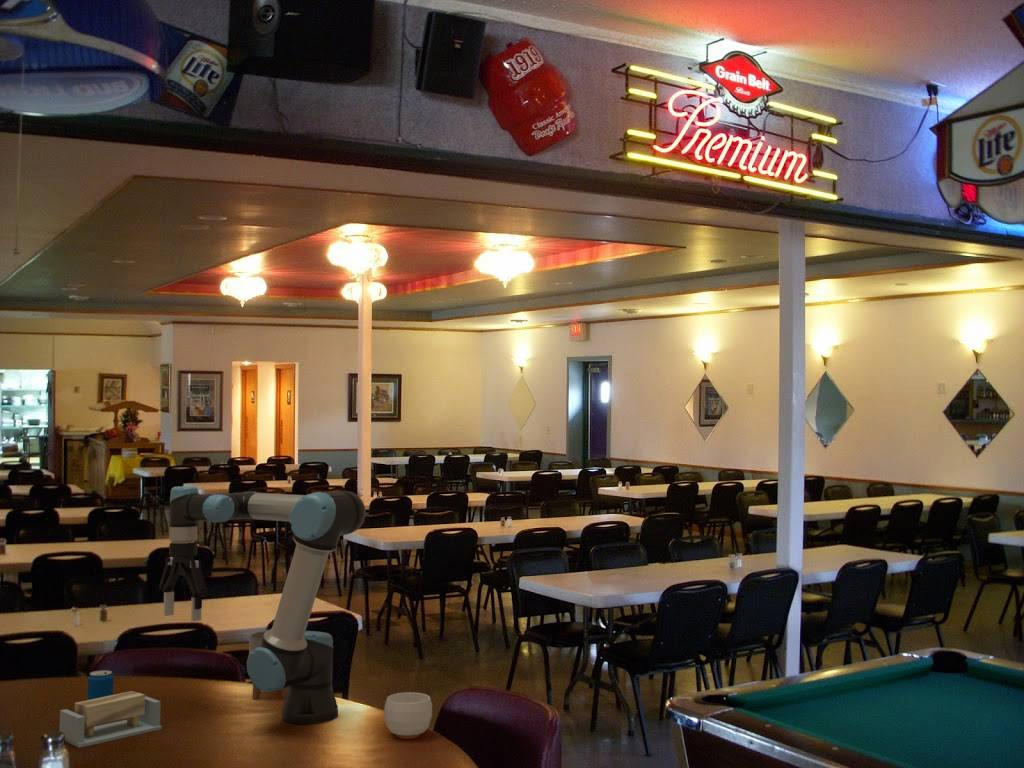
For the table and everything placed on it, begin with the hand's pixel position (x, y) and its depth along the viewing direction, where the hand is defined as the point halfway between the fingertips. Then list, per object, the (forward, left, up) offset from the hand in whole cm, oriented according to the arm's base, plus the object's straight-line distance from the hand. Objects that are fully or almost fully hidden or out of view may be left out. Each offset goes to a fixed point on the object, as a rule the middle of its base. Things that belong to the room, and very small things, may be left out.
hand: (182, 618), depth 289 cm
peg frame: (-7, +24, -26) cm, 35 cm away
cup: (-63, -28, -26) cm, 74 cm away
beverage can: (+9, +19, -26) cm, 33 cm away
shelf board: (-6, +24, -22) cm, 33 cm away
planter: (-4, -27, -26) cm, 38 cm away
